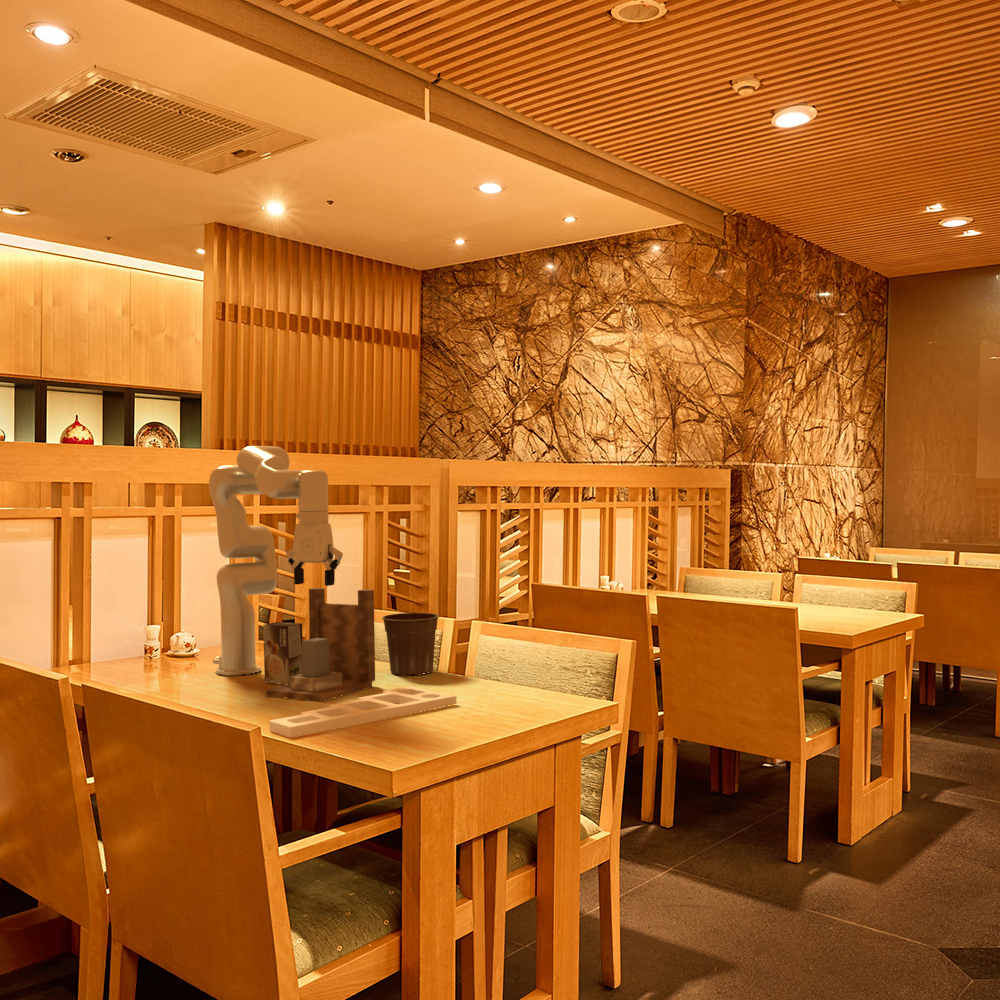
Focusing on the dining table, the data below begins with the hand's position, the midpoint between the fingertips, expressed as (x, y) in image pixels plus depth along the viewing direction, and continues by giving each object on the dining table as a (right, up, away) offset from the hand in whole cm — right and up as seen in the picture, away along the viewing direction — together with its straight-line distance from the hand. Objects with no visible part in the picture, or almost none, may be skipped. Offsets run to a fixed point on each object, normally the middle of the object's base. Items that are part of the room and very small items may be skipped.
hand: (314, 584), depth 251 cm
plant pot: (+23, -28, +27) cm, 45 cm away
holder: (+15, -28, -27) cm, 42 cm away
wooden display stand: (+2, -28, +1) cm, 28 cm away
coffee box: (-11, -28, +14) cm, 33 cm away
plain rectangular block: (+1, -26, 0) cm, 26 cm away
